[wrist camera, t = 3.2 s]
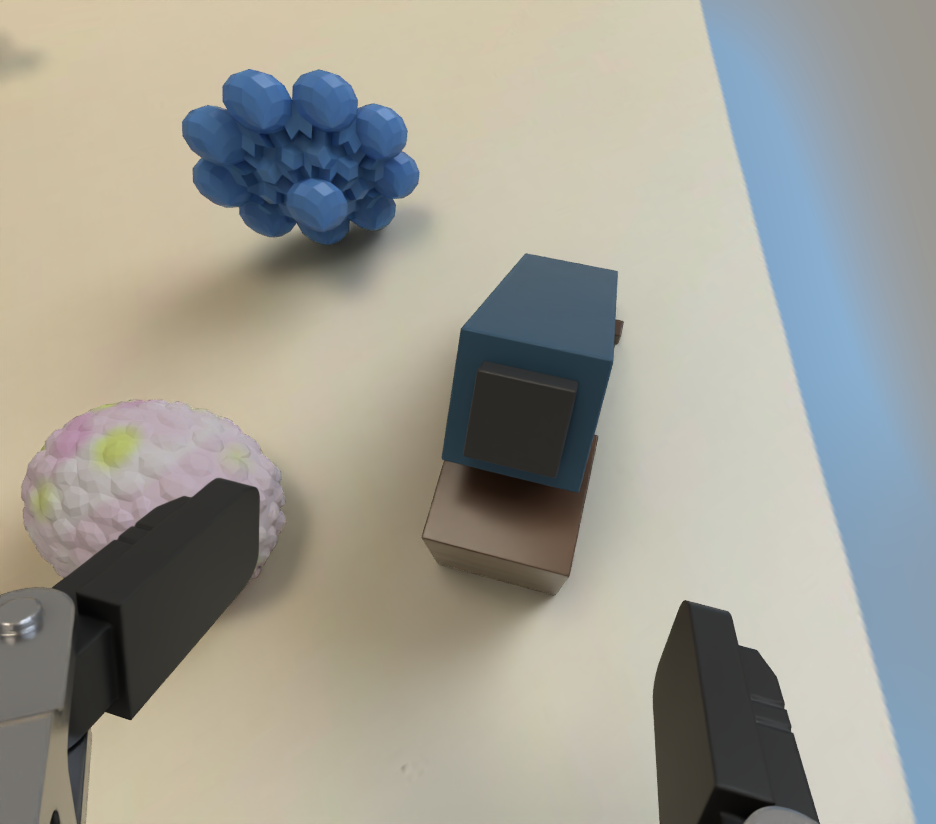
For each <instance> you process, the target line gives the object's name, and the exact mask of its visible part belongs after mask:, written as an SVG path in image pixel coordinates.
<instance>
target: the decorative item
mask: <svg viewBox="0 0 936 824" xmlns="http://www.w3.org/2000/svg"><path fill="white" fill-rule="evenodd" d="M216 478H223V479H227V480H231V481H235V482H239V483H242V484H246V485H250V486H254V487H256V488H257V489H258V491H259V494H260V519H259V555H258V561H257V565H256V568H255V570H254V573H253V575H252V577H251V579H253V578H255V577H258V574H259V572H260V570H261V569H260V566H262V565H264V564H265V562H266V560H267V558H268V557H269V555H270V552H271V551H272V550H273V549H274V548H275V546H276V544H277V536H278V535H279V534H280V532H281V529H282V528H283V527H284V526H285V524H286V517H285V515H284V514H283V512H282V511H281V510H280V508H281V507H282V506H283V505H284V504H285V502H286V501H285V496H284V493H283V489H282V487H281V485H280V484H279V482H280V481H281V480H282V479H281V471H280V470H279V469H278V468H277V467H276V466H275V465H274V464H273V463H272V462H271V461H270V460H269V459H268V458H267V457H266V456H264V455H262V451H261V448H260V446H259V445H258V443H257V442H256V441H255V440H253V439H252V438H251V437H250V436H248V435H246V434H243V432H242V431H241V429H240V428H239V427H238V426H237V425H235V424H234V423H233V421H231V420H229V419H227V418H223V417H219V416H216V415H215V414H214V413H212V412H210V411H209V410H207V409H192V407H191V406H190V405H188V404H185V403H181V402H174V403H172V404H170V403H168V402H166V401H164V400H148V401H143V400H129V401H127V402H119V403H116V404H106V405H103V406H100V407H97V408H94V409H91V410H89V411H88V412H87V413H85V414H83V415H80V416H77V417H75V418H73V419H72V420H71V421H69V422H68V423H67V424H65V425H64V427H63V428H62V429H58V430H55V431H54V432H53V433H52V434H51V436H50V437H49V438H48V439H47V440H46V442H45V445H44V446H43V447H42V449H41V451H40V452H37V454H36V455H35V456H34V458H33V459H32V460H31V462H30V463H29V464H28V468H27V473H26V476H25V478H24V480H23V483H22V492H21V497H22V500H23V501H24V503H25V507H24V509H23V518H24V525H25V529H26V530H27V531H28V532H29V535H30V537H31V539H32V541H33V543H34V544H35V545H36V548H37V550H38V552H39V553H40V555H41V557H43V558H44V559H45V560H46V561H47V562H49V563H50V564H51V565H53V568H54V569H55V571H56V572H57V574H58V575H59V576H61V577H64V578H65V577H66V576H68V575H69V574H70V573H72V572H73V571H74V570H75V569H77V568H78V567H79V566H81V565H82V564H83V563H84V562H86V561H87V560H88V559H90V558H91V557H92V556H94V555H95V554H96V553H97V552H99V551H100V550H101V549H103V548H104V547H105V546H106V545H108V544H109V543H110V542H112V541H113V540H117V539H118V537H119V535H121V534H122V533H123V532H124V531H126V530H127V529H128V528H130V527H131V526H133V527H134V526H135V524H136V522H137V521H139V520H140V519H141V518H143V517H144V516H145V515H146V514H148V513H149V512H150V511H152V510H153V509H154V508H155V507H157V506H160V505H162V504H165V503H167V502H169V501H172V500H174V499H177V498H179V497H182V496H187V497H192V496H194V495H195V494H196V493H197V492H199V491H200V490H201V489H202V488H204V487H205V486H206V485H207V484H208V483H210V482H211V481H212V480H214V479H216ZM251 579H250V580H251Z"/></svg>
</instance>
